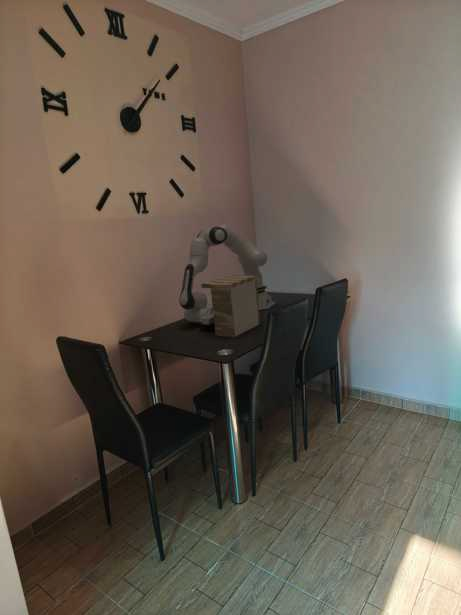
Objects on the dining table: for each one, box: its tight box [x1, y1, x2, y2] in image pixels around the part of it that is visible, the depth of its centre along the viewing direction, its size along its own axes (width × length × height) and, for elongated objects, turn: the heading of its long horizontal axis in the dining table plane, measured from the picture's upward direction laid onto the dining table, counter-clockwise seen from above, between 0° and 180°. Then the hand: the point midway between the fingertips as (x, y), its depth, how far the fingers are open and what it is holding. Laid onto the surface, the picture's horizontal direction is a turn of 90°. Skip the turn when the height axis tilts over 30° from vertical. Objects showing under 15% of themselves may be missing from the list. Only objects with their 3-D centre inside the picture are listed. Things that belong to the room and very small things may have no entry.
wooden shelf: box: [200, 274, 261, 338], centre depth 224 cm, size 26×18×28 cm
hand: (226, 317), depth 229 cm, fingers closed
